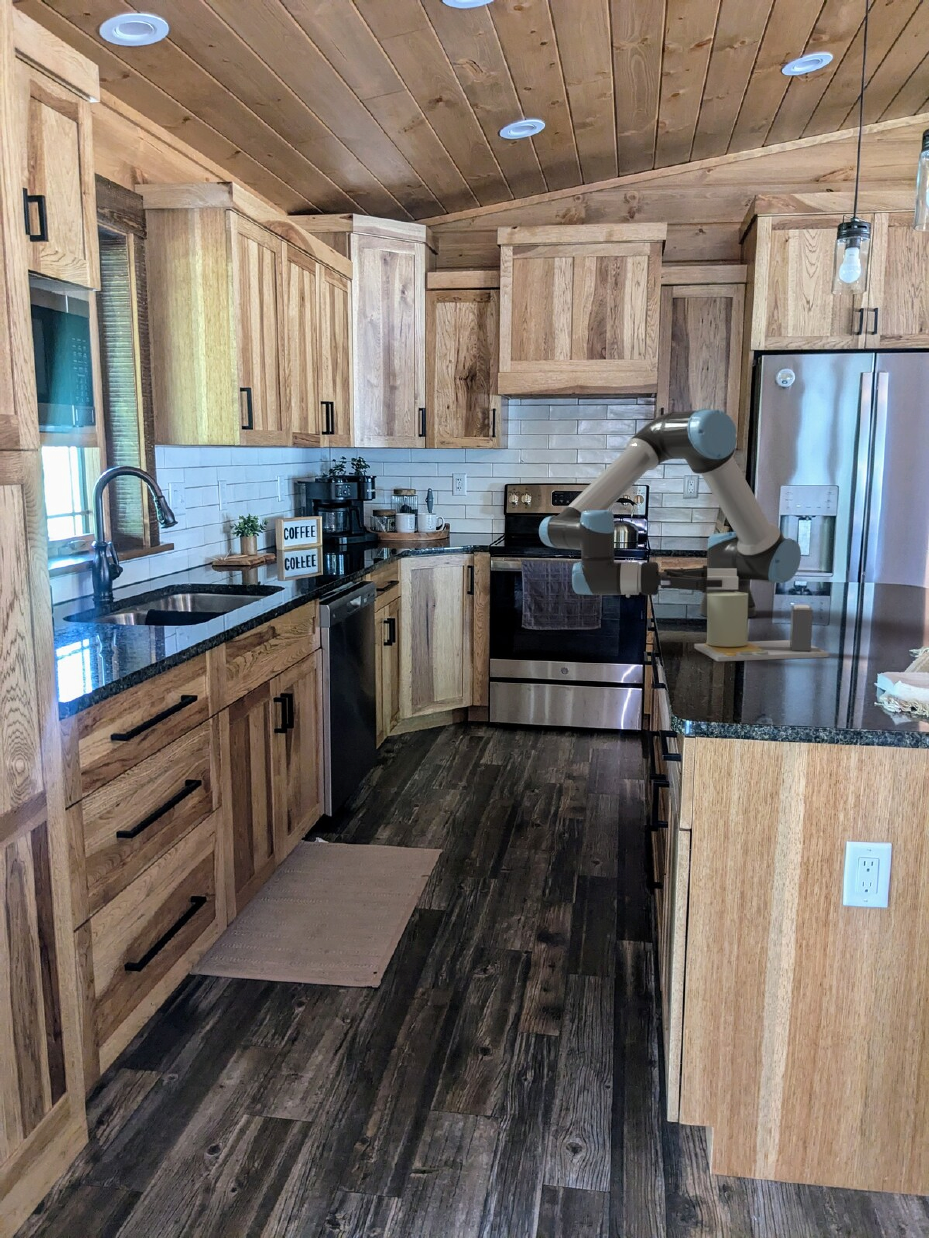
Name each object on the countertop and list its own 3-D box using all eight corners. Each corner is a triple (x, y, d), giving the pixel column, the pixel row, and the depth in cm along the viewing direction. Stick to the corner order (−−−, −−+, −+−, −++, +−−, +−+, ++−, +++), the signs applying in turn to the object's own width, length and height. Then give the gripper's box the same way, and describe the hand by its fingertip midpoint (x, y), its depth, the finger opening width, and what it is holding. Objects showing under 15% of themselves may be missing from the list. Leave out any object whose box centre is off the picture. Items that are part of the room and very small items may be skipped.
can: (750, 646, 211) (750, 593, 209) (707, 646, 212) (707, 593, 211) (746, 641, 220) (746, 589, 218) (705, 641, 221) (705, 590, 220)
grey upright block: (808, 646, 212) (810, 604, 210) (810, 650, 207) (812, 608, 206) (789, 645, 213) (791, 604, 211) (791, 650, 208) (793, 607, 207)
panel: (798, 643, 221) (798, 638, 221) (828, 656, 206) (829, 650, 206) (694, 648, 219) (694, 642, 219) (717, 661, 204) (717, 655, 204)
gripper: (644, 586, 228) (735, 587, 223) (636, 603, 205) (738, 604, 199) (644, 556, 227) (736, 555, 222) (636, 569, 203) (739, 569, 198)
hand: (737, 578), depth 211 cm, fingers open, 13 cm apart
